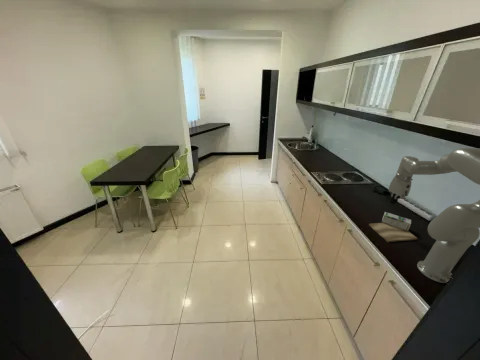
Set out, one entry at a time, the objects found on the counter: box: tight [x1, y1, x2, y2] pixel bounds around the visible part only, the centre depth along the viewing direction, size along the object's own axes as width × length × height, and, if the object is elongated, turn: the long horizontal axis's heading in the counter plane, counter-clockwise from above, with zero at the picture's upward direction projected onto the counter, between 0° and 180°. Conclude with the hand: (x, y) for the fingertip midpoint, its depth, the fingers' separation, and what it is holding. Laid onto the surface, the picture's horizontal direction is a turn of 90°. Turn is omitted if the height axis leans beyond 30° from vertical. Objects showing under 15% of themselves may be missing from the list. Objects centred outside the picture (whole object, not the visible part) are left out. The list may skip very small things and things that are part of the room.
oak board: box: [368, 222, 418, 243], centre depth 127 cm, size 16×20×1 cm
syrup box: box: [381, 211, 412, 231], centre depth 131 cm, size 6×6×14 cm
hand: (392, 203), depth 125 cm, fingers closed
